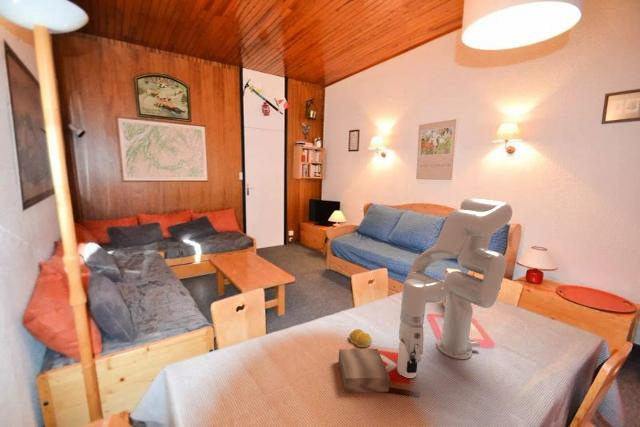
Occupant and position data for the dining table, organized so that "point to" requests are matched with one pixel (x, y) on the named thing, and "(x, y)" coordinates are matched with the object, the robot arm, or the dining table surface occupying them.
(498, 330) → the dining table surface
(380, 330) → the dining table surface
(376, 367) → the block
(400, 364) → the can
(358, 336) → the bread roll
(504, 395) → the dining table surface
